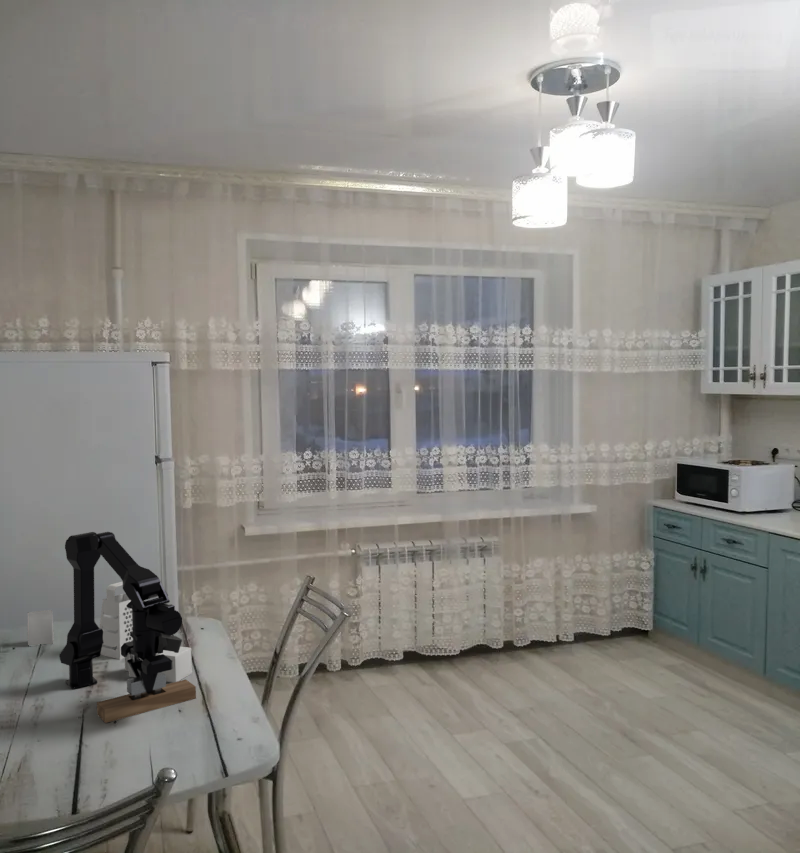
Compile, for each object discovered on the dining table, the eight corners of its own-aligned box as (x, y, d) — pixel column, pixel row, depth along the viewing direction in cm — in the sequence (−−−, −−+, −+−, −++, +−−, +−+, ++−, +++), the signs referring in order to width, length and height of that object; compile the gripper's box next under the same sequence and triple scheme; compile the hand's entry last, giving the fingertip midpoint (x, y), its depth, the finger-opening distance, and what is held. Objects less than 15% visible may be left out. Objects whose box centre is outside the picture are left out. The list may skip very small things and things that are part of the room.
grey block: (127, 704, 187) (126, 679, 187) (161, 695, 192) (161, 671, 192) (132, 707, 185) (131, 683, 184) (166, 698, 190) (165, 674, 190)
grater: (149, 648, 230) (147, 581, 229) (120, 659, 221) (117, 590, 220) (126, 642, 236) (124, 577, 235) (96, 653, 227) (94, 585, 226)
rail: (97, 714, 184) (96, 702, 184) (186, 691, 198) (185, 679, 198) (105, 723, 179) (104, 710, 179) (195, 698, 193) (195, 686, 193)
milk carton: (175, 656, 203) (115, 649, 209) (176, 683, 203) (116, 675, 209) (191, 647, 209) (133, 640, 216) (192, 673, 210) (134, 666, 216)
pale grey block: (52, 644, 236) (51, 611, 235) (28, 647, 233) (26, 614, 233) (53, 640, 239) (52, 608, 239) (29, 643, 237) (28, 610, 236)
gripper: (192, 630, 185) (194, 694, 186) (162, 612, 200) (164, 672, 201) (146, 640, 178) (148, 706, 179) (119, 621, 193) (121, 683, 194)
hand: (147, 691), depth 188 cm, fingers closed on grey block, 3 cm apart
